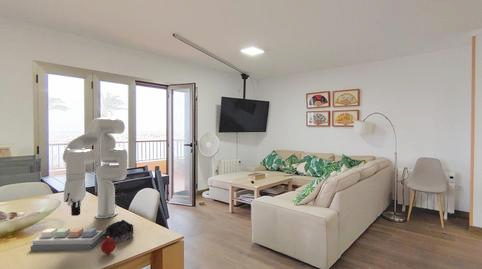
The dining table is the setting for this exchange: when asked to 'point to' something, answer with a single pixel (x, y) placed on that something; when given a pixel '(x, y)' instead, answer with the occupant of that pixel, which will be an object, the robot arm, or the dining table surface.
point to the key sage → (62, 232)
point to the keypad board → (66, 247)
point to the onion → (108, 245)
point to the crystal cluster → (119, 231)
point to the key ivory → (48, 233)
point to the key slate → (89, 232)
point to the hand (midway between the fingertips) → (75, 215)
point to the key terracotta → (76, 232)
